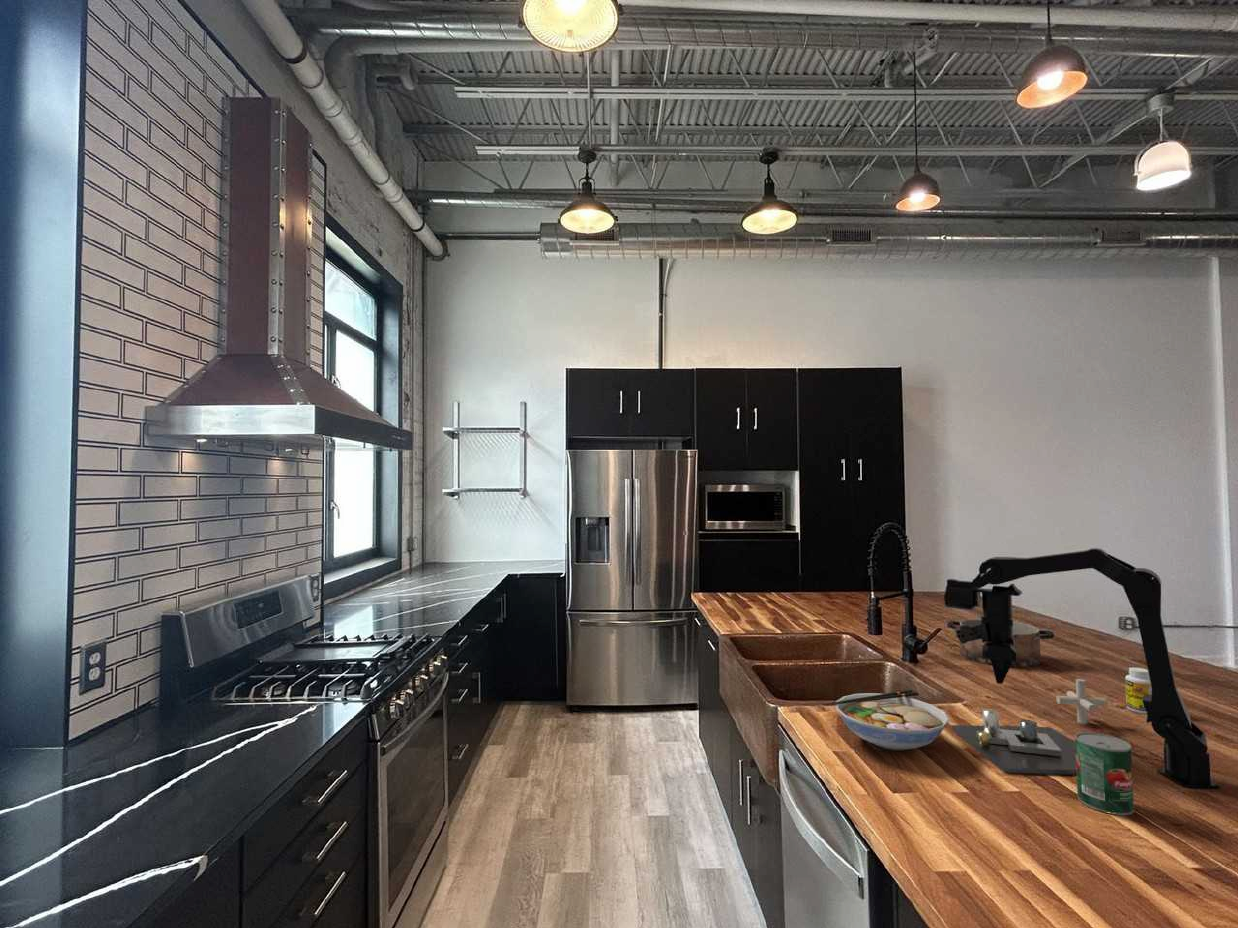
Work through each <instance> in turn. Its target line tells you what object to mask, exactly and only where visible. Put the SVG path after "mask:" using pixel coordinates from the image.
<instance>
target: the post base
mask: <svg viewBox="0 0 1238 928" xmlns="http://www.w3.org/2000/svg"><path fill="white" fill-rule="evenodd" d="M1019 723H1020V724H1019V725H1020V726H1017V725H1016V726H1011V725H1010V726H1009V725H1006V726H1005V725H999V729H1005V730H1014V731H1020V732H1021V740H1019V741H1020V742H1024V743H1033V744H1039V743H1038V736H1037V733H1042V734H1047V735H1048V736H1049V737H1050V738H1051V739H1052V740H1053V742H1054V743H1055V744H1056V745H1057V746H1058V747H1059V748H1060V749H1061V750H1062V757H1060V756H1052V755H1043V754H1034V753H1026V752H1017V751H1011V750H1010V749H1009V747H1008V746H1007V745H1002V744H993V743H989V733H987V732H983V725H967V724H966V725H965V724H963V725H960V724H959V725H958V724H957V725H956V724H951V731H953V732H954V733H955V734H956V735H958V737H960V738H961V739H962V740H963V741H965V742H966V743H967V744H968V745H970V746H971V747H972V748H973V749H975V750H976V751H977V752H978V753H980V754H981V755H982V756H983V757H984V758H985V759H987V760H988V761H990V762H991V763H992V764H993V765H995V767H997V768H998V769H999V770H1000V771H1002V772H1003V773H1004V774H1009V775H1010V774H1011V775H1012V774H1015V775H1016V774H1018V775H1051V776H1052V775H1056V776H1057V775H1059V776H1061V775H1063V776H1077V770H1076V747H1075V740H1073V739H1071V738H1069V737H1068V736H1065V735H1064V734H1062V733H1061V732H1058V730H1056V729H1054V728H1052V727H1051V726H1038V723H1037V721H1034V720H1030V719H1020V720H1019ZM976 731H979V732H978V737H979V740H978V738H977V736H976Z"/></svg>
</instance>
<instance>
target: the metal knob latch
mask: <svg viewBox="0 0 1238 928" xmlns="http://www.w3.org/2000/svg"><path fill="white" fill-rule="evenodd" d="M982 724H983V725H982V726H983V732H987V733H989V743H993V744H1002V745H1007V746H1008V747H1009V749H1010V750H1011V751H1017V752H1026V753H1034V754H1043V755H1052V756H1060V757H1062V750H1061V749H1060V748H1059V747H1058V746H1057V745H1056V744H1055V743H1054V742H1053V740H1052V739H1051V738H1050V737H1049V736H1048V735H1047V734H1042V733H1037V736H1038V743H1039V744H1033V743H1024V742H1020V741H1019V740H1021V732H1020V731H1014V730H1005V729H999V726H1000V712H999V711H998V710H995V709H992V708H984V709H982ZM978 732H979V731H976V736H977V738H978V740H979V737H978Z"/></svg>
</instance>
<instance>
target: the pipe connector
mask: <svg viewBox="0 0 1238 928" xmlns="http://www.w3.org/2000/svg"><path fill="white" fill-rule="evenodd" d="M1086 685H1087V684H1086V680H1085V679H1082V678H1076V679H1075V690H1076V691H1075V692H1074V691H1072V690H1068V691H1066V694H1065V695H1057V696H1056V697H1055V698H1056V703H1057V704H1058V705H1073V706H1074V705H1076V717H1077V718H1076V719H1077V723H1078V724H1082V725H1087V724H1088V714H1087V711H1088V712H1090V713H1093V714H1094V713H1097V712H1098V711H1099V710H1098V709H1099V708H1098V707H1108V700H1107V699H1106V698H1104V697H1103V698H1102V697H1087V688H1086Z"/></svg>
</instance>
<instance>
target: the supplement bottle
mask: <svg viewBox="0 0 1238 928" xmlns="http://www.w3.org/2000/svg"><path fill="white" fill-rule="evenodd" d="M1144 693H1145V694H1150V695H1152V687H1151V682H1150V677H1149V672H1148V669H1146V668H1141V667H1129V668H1128V674H1127V675H1125V703H1126V708H1127V709H1128V710H1130V711H1132V712H1134V713H1139V714H1142V715H1143V714H1144V715H1147V711H1146V709H1145V707H1144V704H1143V694H1144Z"/></svg>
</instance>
